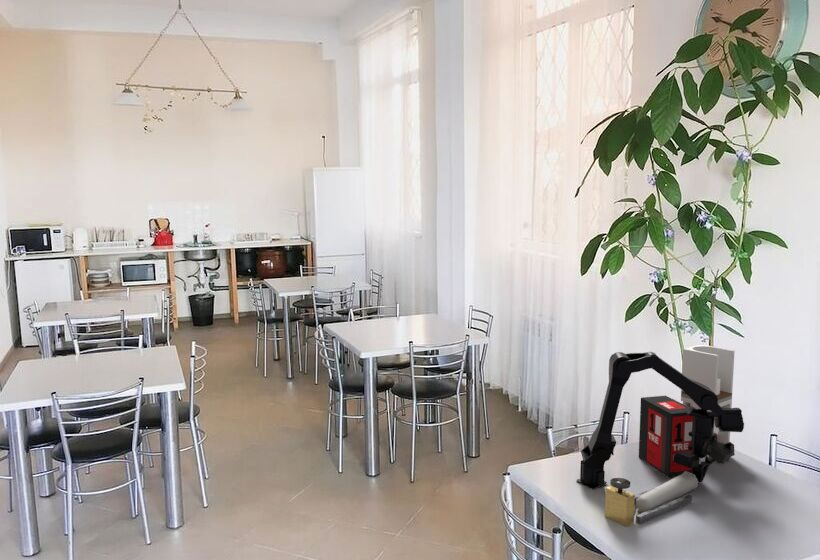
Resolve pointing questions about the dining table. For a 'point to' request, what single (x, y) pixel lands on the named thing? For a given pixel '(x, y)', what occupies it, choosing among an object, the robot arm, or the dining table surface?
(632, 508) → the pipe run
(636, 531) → the dining table surface
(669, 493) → the tube
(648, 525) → the dining table surface
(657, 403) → the cleaning product box
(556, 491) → the dining table surface
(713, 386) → the display case
